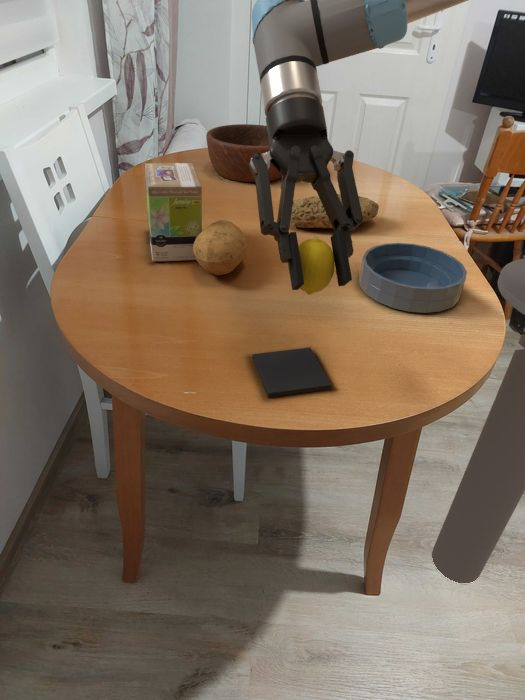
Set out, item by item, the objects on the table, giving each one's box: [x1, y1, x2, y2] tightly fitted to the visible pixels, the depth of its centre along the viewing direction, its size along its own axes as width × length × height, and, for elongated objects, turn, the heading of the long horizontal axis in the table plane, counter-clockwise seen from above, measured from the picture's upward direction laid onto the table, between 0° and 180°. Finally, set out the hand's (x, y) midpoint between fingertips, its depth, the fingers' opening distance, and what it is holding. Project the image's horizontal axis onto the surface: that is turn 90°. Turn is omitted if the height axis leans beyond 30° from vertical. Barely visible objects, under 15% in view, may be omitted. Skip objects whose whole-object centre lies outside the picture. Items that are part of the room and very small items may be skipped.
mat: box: [251, 347, 333, 399], centre depth 73 cm, size 9×9×1 cm
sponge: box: [290, 193, 380, 229], centre depth 117 cm, size 13×8×20 cm
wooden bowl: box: [205, 123, 282, 183], centre depth 145 cm, size 25×25×10 cm
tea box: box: [144, 162, 203, 262], centre depth 102 cm, size 15×10×15 cm, turn 12°
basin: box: [358, 242, 468, 314], centre depth 94 cm, size 18×18×5 cm
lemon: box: [298, 236, 335, 296], centre depth 66 cm, size 6×6×8 cm
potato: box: [193, 219, 248, 276], centre depth 96 cm, size 10×14×8 cm
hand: (321, 284), depth 64 cm, fingers closed on lemon, 5 cm apart
